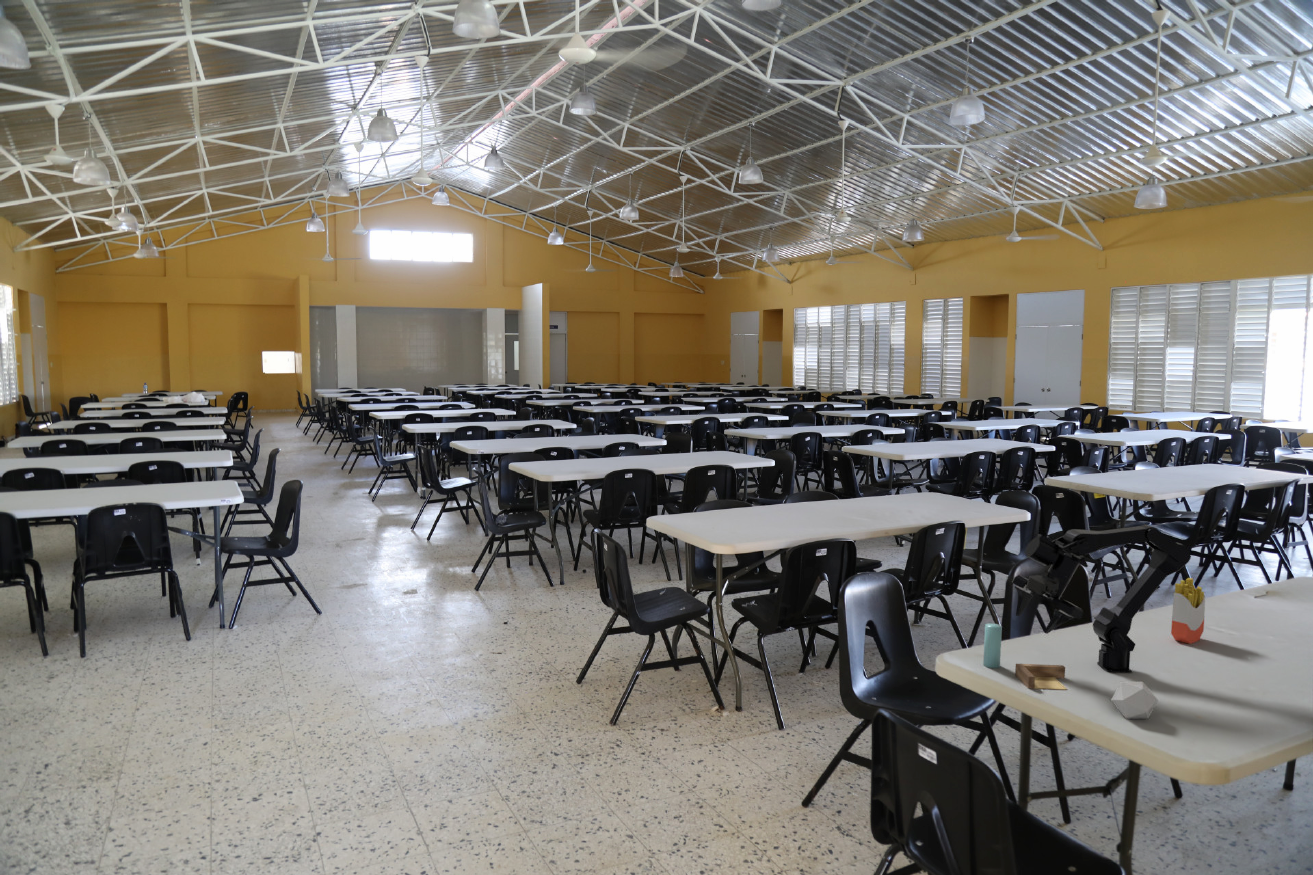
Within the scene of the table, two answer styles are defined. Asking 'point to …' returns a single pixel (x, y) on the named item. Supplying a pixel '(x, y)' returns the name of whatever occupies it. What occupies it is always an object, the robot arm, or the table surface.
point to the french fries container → (1188, 612)
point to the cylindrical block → (992, 645)
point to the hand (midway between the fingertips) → (1031, 624)
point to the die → (1134, 700)
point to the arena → (1041, 676)
